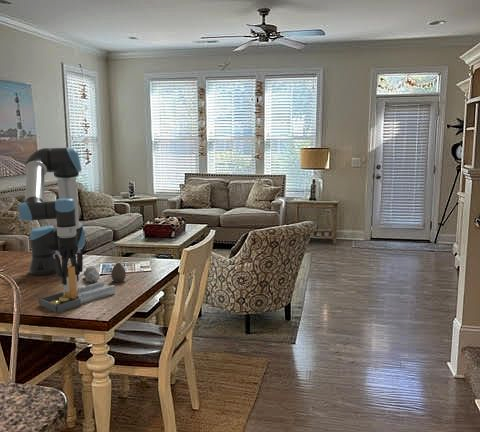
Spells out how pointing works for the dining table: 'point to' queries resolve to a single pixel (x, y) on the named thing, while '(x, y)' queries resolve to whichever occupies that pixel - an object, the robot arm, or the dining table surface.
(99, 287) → the slot rail
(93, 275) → the mineral specimen
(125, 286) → the dining table surface
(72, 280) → the orange l-shaped bar
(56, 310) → the tray
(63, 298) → the gold domed disc
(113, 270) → the vase
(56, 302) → the gold domed disc
